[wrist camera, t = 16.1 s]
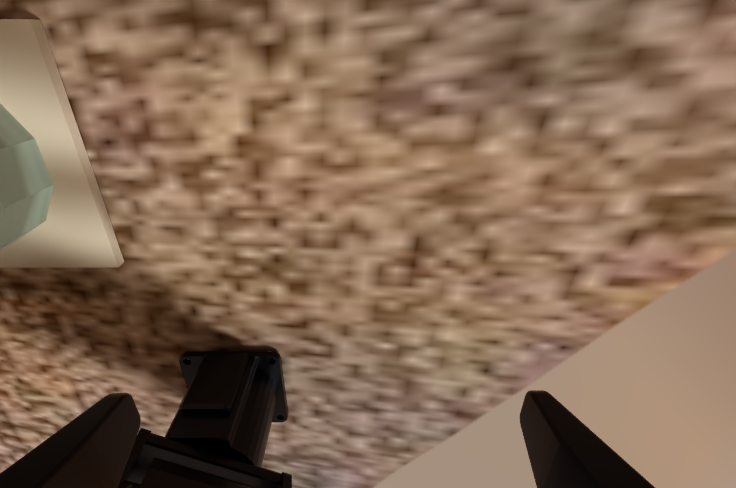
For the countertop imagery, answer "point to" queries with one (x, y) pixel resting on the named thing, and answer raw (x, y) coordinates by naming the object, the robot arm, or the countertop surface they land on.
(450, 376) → the countertop surface
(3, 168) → the can holder
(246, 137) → the countertop surface
